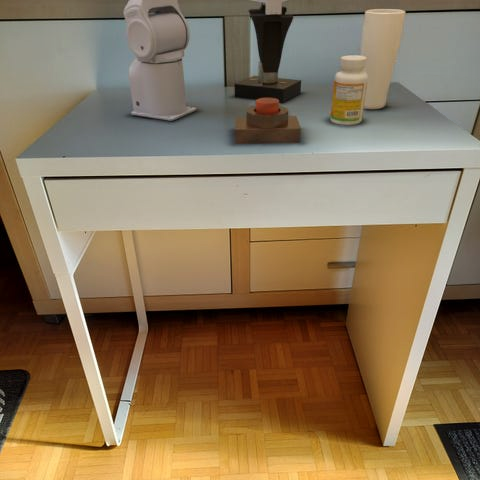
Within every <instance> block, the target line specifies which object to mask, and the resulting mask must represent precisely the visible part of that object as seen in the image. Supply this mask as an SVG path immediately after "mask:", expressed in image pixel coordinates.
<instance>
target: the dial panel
mask: <svg viewBox="0 0 480 480" xmlns="http://www.w3.org/2000/svg"><path fill="white" fill-rule="evenodd" d="M301 91H302V79H293V78H282V77H278V82H277V83H273V84H263V83H259V82H258V75H252V76H250V77H248V78H245V79H243V80H240V81H237V82H236V83H234V97H235V98H240V99H247V100H248V99H249V100H255V101H256V100H257V99H260V98H275V99H278V100H279V104H280V103H281V104H284V103H286V102H287V101H290V100H291V99H293V98H295V97H296V96H299V95H300V94H301Z"/></svg>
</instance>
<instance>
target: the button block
mask: <svg viewBox="0 0 480 480" xmlns="http://www.w3.org/2000/svg"><path fill="white" fill-rule="evenodd" d="M234 123H235V125H234V127H235V129H234V131H235V132H234V134H235V144H236V145H245V144H246V145H247V144H248V145H249V144H250V145H251V144H295V143H296V144H299V143H301V134H302V128H301V125H300V121H299V119H298V116H297V115H289V108H288V107H286V106H283V105H280V104H279V112H278V113H272V114H262V113H257V112H256V105H251V106H249V107H248V108H246V109H245V116H235V121H234Z"/></svg>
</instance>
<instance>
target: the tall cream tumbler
mask: <svg viewBox="0 0 480 480" xmlns="http://www.w3.org/2000/svg"><path fill="white" fill-rule="evenodd" d="M406 13H407V12H406V10H403V9H395V8H394V9H393V8H374V9H367V10H365V12H364V15H363V23H362V29H361V36H360V37H361V38H360V48H359V49H360V50H359V56H364V57H366V65H365V68H363V71H364V72H365V73H367V75H368V81H367V88H366V95H365V102H364V109H365V110H380V109H383V108H384V107H385V106H386V104H387V99H388V93H389V89H390V86H391V81H392V77H393V74H394V68H395V66H396V61H397V58H398V53H399V50H400V45H401V42H402V37H403V32H404V26H405V20H406V19H405V18H406ZM364 109H363V110H364Z"/></svg>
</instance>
